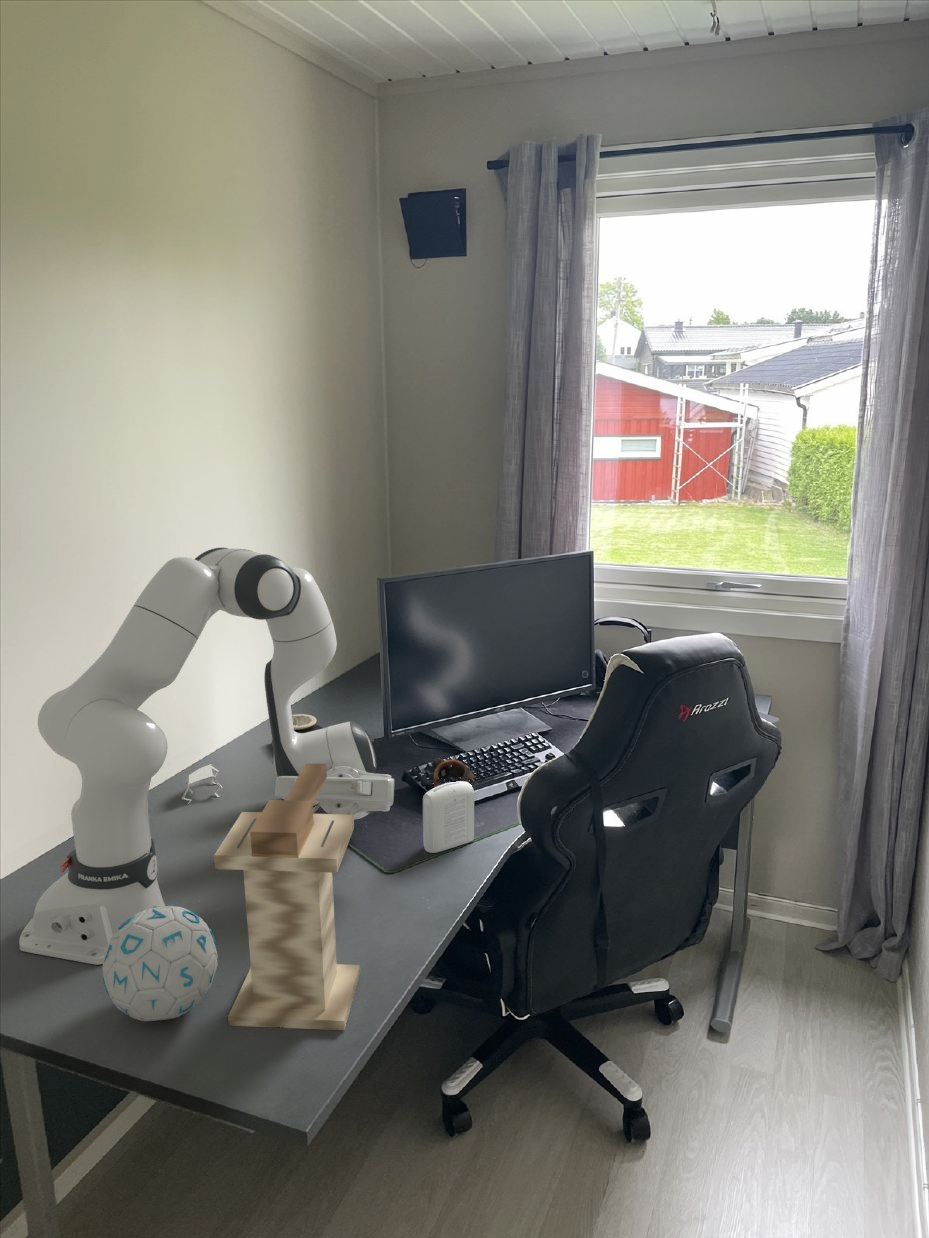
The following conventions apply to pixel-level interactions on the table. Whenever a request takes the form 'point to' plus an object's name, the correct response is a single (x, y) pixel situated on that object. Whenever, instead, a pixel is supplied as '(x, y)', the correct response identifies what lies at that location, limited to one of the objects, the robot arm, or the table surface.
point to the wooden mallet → (289, 817)
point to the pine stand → (292, 929)
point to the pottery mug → (451, 770)
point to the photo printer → (448, 816)
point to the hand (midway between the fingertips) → (327, 785)
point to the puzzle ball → (160, 963)
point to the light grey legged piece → (201, 779)
